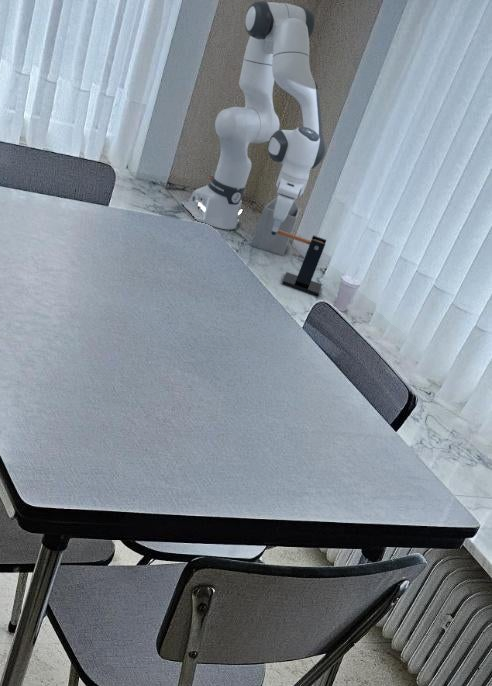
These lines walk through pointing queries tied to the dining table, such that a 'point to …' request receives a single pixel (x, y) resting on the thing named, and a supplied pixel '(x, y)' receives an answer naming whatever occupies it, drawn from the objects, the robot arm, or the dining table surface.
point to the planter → (265, 225)
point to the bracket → (307, 269)
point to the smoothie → (346, 291)
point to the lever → (293, 236)
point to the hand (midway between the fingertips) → (276, 227)
